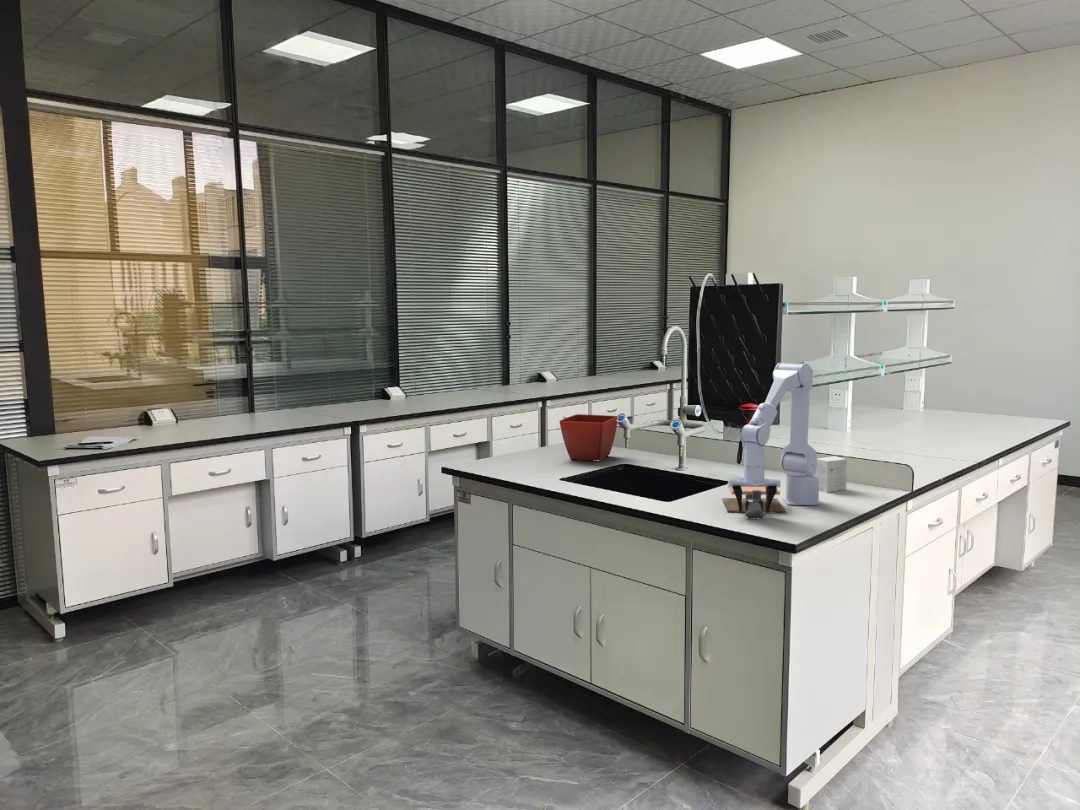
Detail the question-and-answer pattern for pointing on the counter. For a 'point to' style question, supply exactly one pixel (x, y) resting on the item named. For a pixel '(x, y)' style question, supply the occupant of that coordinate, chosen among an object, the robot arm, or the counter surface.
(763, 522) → the counter surface
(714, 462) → the counter surface
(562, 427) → the plant pot
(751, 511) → the block
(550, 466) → the counter surface
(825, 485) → the small box
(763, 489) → the tipping door
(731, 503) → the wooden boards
